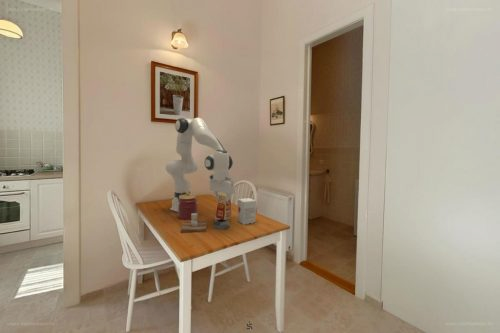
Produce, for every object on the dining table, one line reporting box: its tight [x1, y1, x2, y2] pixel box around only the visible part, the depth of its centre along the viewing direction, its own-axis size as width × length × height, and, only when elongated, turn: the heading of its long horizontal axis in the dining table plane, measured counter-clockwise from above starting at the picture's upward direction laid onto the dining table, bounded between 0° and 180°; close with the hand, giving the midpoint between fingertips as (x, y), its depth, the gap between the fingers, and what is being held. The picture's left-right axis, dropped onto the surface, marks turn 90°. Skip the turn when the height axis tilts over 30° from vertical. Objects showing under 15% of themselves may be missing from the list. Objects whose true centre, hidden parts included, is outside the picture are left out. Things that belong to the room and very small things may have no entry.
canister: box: [177, 192, 198, 220], centre depth 152 cm, size 13×13×18 cm
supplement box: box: [237, 197, 257, 226], centre depth 144 cm, size 9×9×15 cm
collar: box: [213, 219, 230, 231], centre depth 133 cm, size 6×6×4 cm
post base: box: [180, 212, 207, 234], centre depth 131 cm, size 14×14×8 cm
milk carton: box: [214, 192, 232, 221], centre depth 151 cm, size 9×9×20 cm
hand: (221, 199), depth 132 cm, fingers open, 8 cm apart
